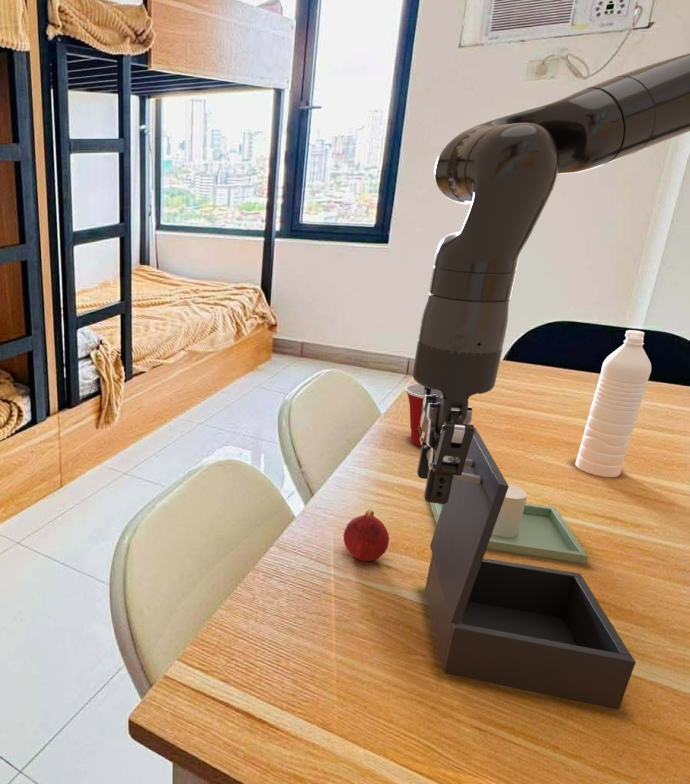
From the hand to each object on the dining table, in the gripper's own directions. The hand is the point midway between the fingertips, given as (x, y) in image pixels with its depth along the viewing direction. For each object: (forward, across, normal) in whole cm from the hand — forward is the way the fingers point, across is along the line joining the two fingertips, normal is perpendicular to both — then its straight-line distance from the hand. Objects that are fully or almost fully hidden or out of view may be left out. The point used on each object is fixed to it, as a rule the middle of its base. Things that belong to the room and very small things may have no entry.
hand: (431, 488), depth 69 cm
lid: (+3, 0, -4) cm, 5 cm away
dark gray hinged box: (+19, 0, -11) cm, 22 cm away
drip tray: (+19, +27, -16) cm, 37 cm away
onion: (+19, +13, +4) cm, 23 cm away
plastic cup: (+19, +58, -10) cm, 62 cm away
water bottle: (+19, +56, -38) cm, 70 cm away
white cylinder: (+18, +27, -16) cm, 36 cm away
